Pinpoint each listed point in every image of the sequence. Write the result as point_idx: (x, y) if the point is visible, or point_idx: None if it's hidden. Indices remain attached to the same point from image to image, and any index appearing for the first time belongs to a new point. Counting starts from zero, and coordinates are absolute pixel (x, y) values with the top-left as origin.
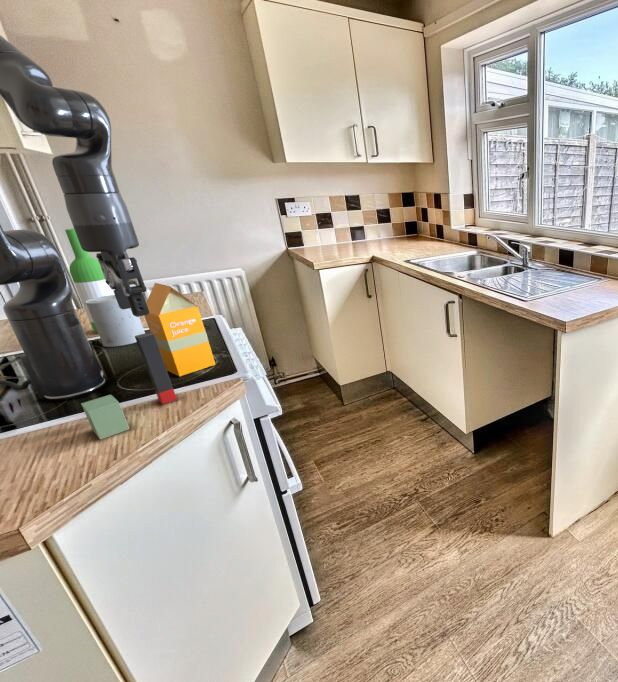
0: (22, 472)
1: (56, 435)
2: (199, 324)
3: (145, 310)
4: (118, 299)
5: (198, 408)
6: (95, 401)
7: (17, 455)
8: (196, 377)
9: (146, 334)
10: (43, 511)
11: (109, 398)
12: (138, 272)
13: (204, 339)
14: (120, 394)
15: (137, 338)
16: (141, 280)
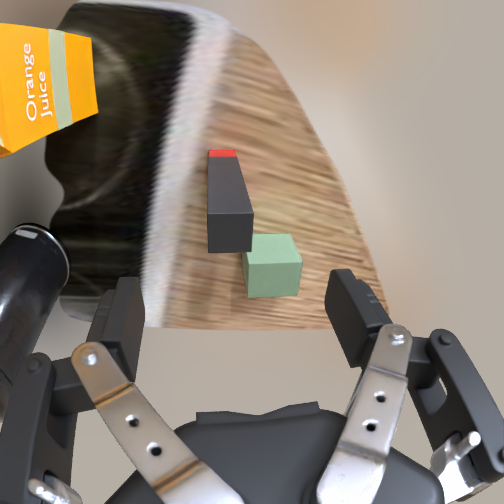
0: (290, 322)
1: (210, 296)
2: (36, 37)
3: (366, 287)
4: (138, 344)
5: (317, 141)
6: (261, 284)
7: (234, 324)
8: (136, 87)
9: (227, 227)
10: (387, 310)
11: (269, 268)
12: (490, 404)
13: (60, 39)
14: (105, 213)
15: (240, 251)
16: (472, 372)
